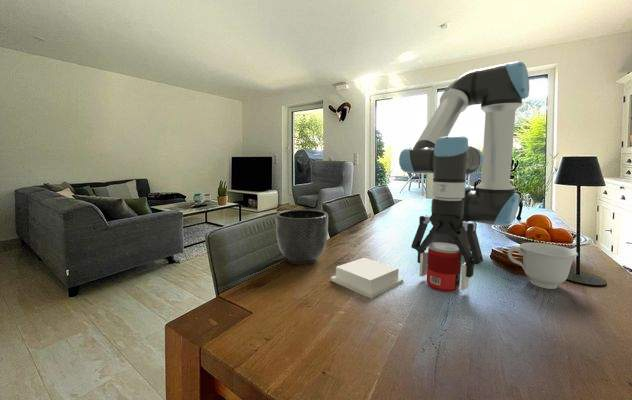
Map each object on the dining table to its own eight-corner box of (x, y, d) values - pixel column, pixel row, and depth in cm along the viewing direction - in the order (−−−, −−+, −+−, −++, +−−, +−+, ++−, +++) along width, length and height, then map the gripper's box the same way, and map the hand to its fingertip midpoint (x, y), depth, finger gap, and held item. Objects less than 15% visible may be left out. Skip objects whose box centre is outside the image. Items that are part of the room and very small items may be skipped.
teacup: (499, 272, 85) (501, 239, 84) (559, 278, 81) (563, 244, 80) (513, 289, 74) (516, 252, 73) (584, 297, 69) (589, 258, 68)
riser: (363, 268, 89) (363, 256, 88) (403, 282, 78) (403, 268, 78) (330, 280, 80) (330, 266, 79) (370, 298, 69) (371, 282, 69)
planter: (338, 264, 92) (338, 215, 90) (289, 274, 84) (288, 221, 82) (312, 249, 107) (312, 207, 105) (268, 257, 99) (267, 211, 97)
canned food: (463, 294, 71) (466, 251, 70) (429, 291, 73) (431, 249, 72) (454, 281, 79) (457, 243, 77) (424, 279, 80) (426, 241, 79)
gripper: (400, 195, 79) (397, 272, 82) (492, 205, 62) (484, 301, 65) (414, 193, 84) (411, 266, 87) (504, 201, 67) (496, 291, 70)
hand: (442, 281), depth 76 cm, fingers open, 10 cm apart
